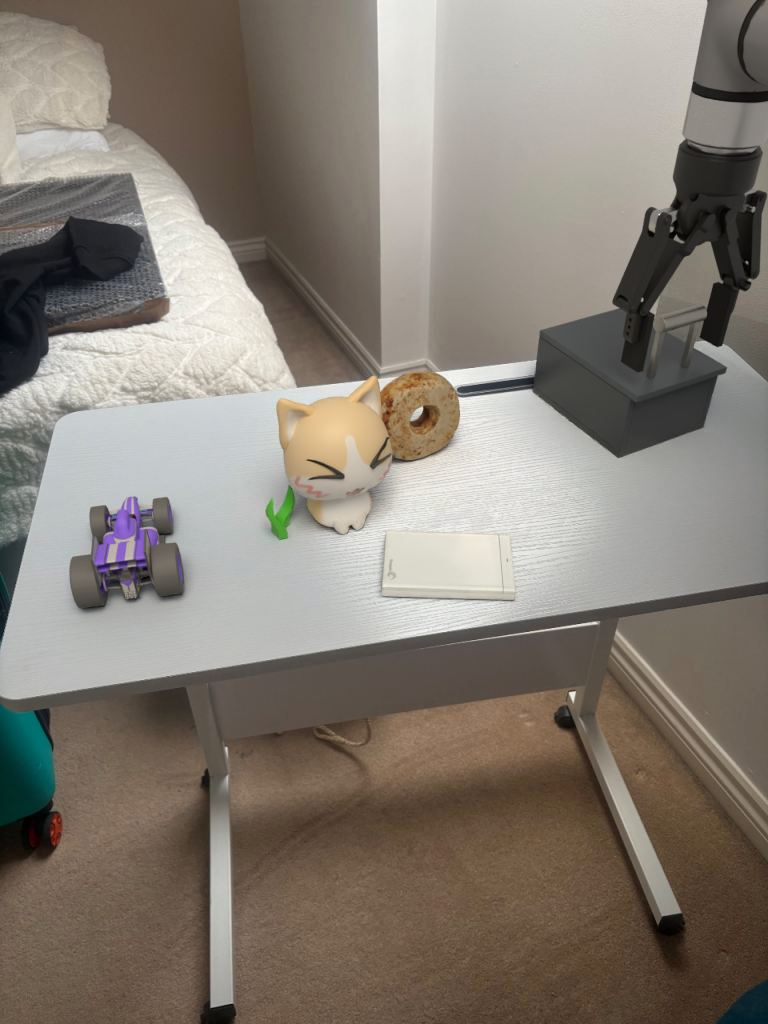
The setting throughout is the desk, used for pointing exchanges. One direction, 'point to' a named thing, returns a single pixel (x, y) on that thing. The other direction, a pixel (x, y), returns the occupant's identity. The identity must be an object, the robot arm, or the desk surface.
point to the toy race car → (127, 553)
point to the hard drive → (448, 565)
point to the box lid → (666, 357)
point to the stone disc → (432, 423)
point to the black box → (617, 404)
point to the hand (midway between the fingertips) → (672, 353)
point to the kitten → (333, 457)
